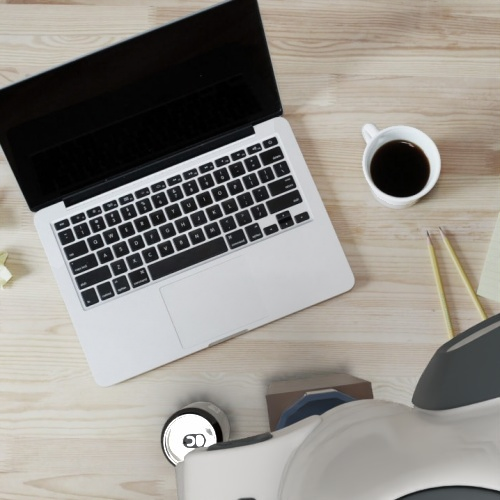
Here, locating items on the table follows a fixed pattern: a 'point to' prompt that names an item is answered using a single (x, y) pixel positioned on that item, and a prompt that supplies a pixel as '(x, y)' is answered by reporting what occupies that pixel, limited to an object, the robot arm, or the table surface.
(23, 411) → the table surface
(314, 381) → the plinth
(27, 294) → the table surface
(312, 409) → the bowl
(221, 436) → the beverage can
